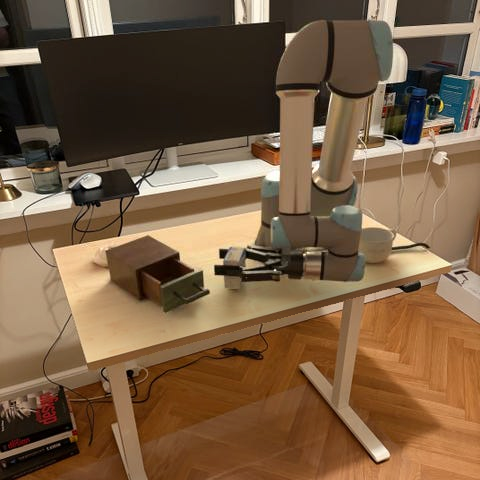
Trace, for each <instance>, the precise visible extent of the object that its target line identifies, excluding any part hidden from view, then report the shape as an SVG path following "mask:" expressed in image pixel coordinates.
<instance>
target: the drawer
mask: <svg viewBox="0 0 480 480" xmlns="http://www.w3.org/2000/svg"><path fill="white" fill-rule="evenodd" d="M139 277H140V283H141V290H142V294H144V295H145V296H146V297H148V298H147V299H149V300H151V301H152V302H154V303H155V304H156V305H158V306H160V307H161V309H162V313H164V314H168V313H170V312H172V311H174V310H176V309H178V308H180V307H182V306H184V305H189V304H192V303H194V302H196V301H198V300H200V299H202V298H204V297H207V296H208V295H210V294H211V290H210V289H209V288H205V283H204V281H205V279H204V269H202V268H198V269H196V270H195V268H194V267H192V266H190V265H188V264H187V263H185V262H184V261H182V260H181V259H180V260H178V259H176V258H175V257H174V258H171V259H169V260H167V261H164V262H162V263H159V264H157V265H154V266H152V267H149V268H147V269H144V270H142V271H139Z"/></svg>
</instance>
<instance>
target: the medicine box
mask: <svg viewBox="0 0 480 480" xmlns="http://www.w3.org/2000/svg"><path fill="white" fill-rule="evenodd" d="M245 248H246V247H241V246H229V248H228V249H229V250H228V252H227V254H226V256H225V258H224V259H222V265H234V266H240V265H241V266H242V267H247V266H246V265H247V263H246V260H247V259H245ZM243 283H244V282H242V281H241V278H240V277H238V276H223V284H224V286H223V287H224V289H230V290H241V289H242V286H243Z"/></svg>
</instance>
